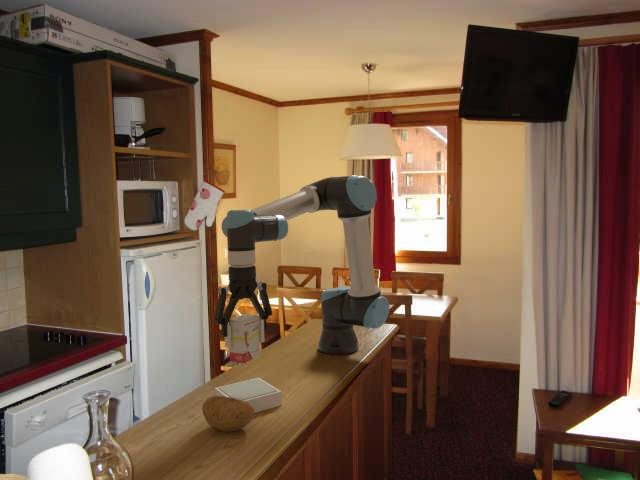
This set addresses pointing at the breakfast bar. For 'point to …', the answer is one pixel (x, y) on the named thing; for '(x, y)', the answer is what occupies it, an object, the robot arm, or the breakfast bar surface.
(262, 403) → the block
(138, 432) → the breakfast bar surface
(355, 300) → the robot arm
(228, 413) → the potato
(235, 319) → the ink box
